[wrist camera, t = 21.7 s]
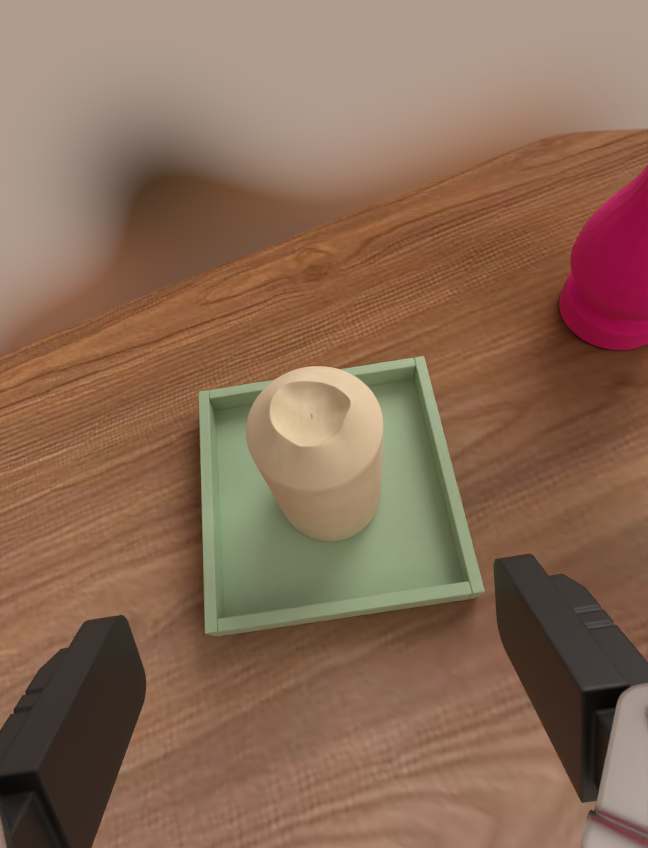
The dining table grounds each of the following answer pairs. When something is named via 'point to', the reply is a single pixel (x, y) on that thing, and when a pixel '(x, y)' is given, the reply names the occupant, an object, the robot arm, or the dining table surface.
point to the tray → (339, 560)
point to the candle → (319, 450)
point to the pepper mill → (611, 273)
